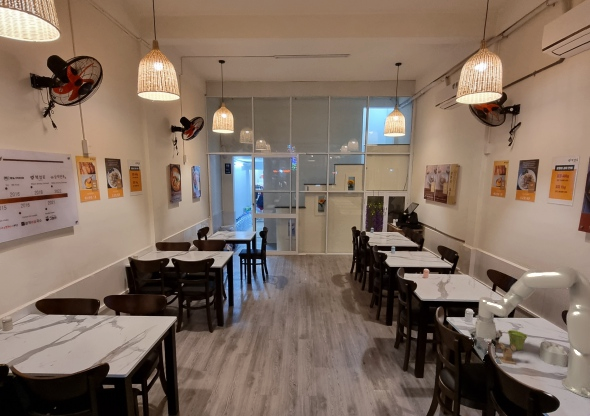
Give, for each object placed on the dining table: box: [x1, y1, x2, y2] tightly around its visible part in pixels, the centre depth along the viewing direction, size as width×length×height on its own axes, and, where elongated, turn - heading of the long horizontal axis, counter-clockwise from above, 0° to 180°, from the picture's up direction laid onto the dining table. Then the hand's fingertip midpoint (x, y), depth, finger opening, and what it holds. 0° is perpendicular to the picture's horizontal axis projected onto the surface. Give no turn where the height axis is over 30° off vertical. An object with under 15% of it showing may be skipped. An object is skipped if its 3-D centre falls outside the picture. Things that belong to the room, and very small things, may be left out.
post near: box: [498, 342, 517, 366], centre depth 158 cm, size 5×6×9 cm
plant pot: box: [507, 329, 528, 351], centre depth 171 cm, size 9×9×9 cm
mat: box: [473, 345, 502, 364], centre depth 168 cm, size 24×9×1 cm, turn 166°
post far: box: [486, 329, 503, 349], centre depth 173 cm, size 5×6×9 cm
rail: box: [470, 332, 489, 355], centre depth 171 cm, size 22×4×4 cm, turn 166°
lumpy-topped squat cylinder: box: [539, 341, 568, 368], centre depth 160 cm, size 10×13×9 cm
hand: (483, 345), depth 168 cm, fingers open, 9 cm apart
